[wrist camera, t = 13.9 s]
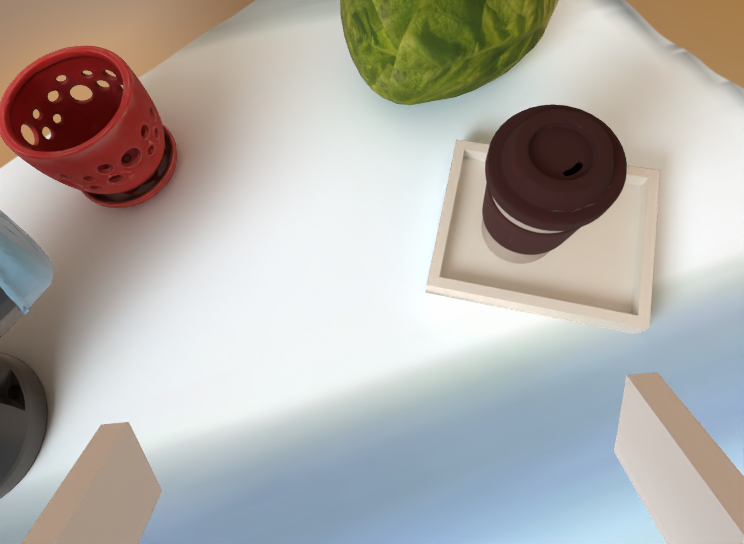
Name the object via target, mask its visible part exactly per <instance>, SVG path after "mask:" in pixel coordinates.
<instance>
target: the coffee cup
mask: <svg viewBox="0 0 744 544" xmlns="http://www.w3.org/2000/svg"><path fill="white" fill-rule="evenodd" d="M626 174H627V162H626V157H625V153H624V150H623V147H622V145H621V143H620V141H619V140H618V138H617V137H616V135H615V134H614V133H613V131H612V130H611V129H610V128H609V127H608V126H607V125H606V124H605V123H604V122H602V121H601V120H599V119H598V118H596V117H595V116H593V115H592V114H590V113H587V112H585V111H583V110H581V109H577V108H573V107H569V106H564V105H542V106H537V107H532V108H529V109H527V110H524V111H521V112H519V113H517V114H516V115H514V116H512V117H511V118H510V119H508V120H507V121H506V122H505V123H504V124H503V125H501V127H500V128H499V129H498V130H497V132H496V133H495V135H494V137H493V139H492V141H491V143H490V146H489V149H488V153H487V157H486V161H485V176H486V188H485V194H484V200H483V206H482V215H483V219H482V235H483V239H484V241H485V243H486V245H487V246H488V248H489V249H490V250H491V251H492V252H493V253H494V254H495V255H496V256H498V257H499V258H501V259H503V260H505V261H508V262H512V263H518V264H524V263H530V262H534V261H536V260H538V259H540V258H542V257H544V256H545V255H546V254H547V253H548V252H549V251H551V250H553V249H555V248H557V247H558V246H560V245H561V244H562V243H563V242H564V241H566V240H567V239H568V238H569V237H570V236H571V235H573V234H574V233H575V232H576V231H577V230H578V229H579V228H581V227H583V226H585V225H588V224H589V223H591V222H593V221H595V220H596V219H598V218H599V217H600V216H602V215H603V214H604V213H605V212H606V211H607V210H608V209H609V208H610V207H611V206H612V205H613V203H614V202H615V201H616V200H617V198H618V197H619V195H620V193H621V192H622V189H623V187H624V184H625V181H626Z"/></svg>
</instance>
